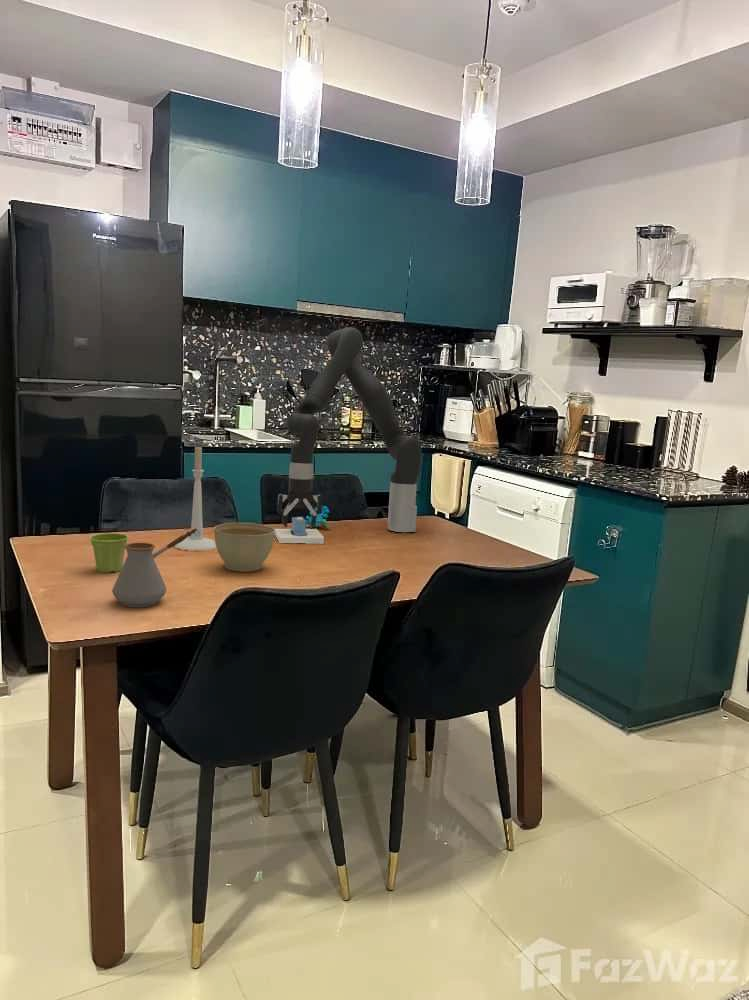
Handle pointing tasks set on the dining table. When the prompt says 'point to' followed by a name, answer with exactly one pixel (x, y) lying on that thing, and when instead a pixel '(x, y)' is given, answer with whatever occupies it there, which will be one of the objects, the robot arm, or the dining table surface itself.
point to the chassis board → (311, 536)
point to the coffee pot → (142, 575)
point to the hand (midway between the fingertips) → (298, 526)
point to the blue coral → (319, 517)
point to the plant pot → (109, 551)
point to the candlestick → (197, 512)
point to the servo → (298, 526)
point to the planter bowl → (243, 545)
